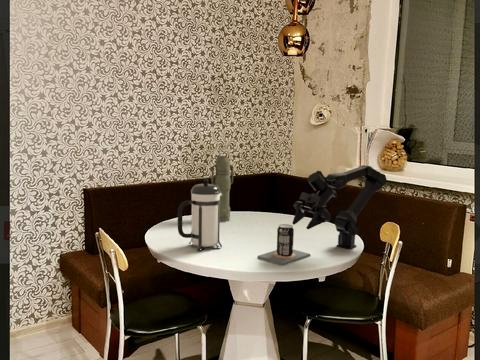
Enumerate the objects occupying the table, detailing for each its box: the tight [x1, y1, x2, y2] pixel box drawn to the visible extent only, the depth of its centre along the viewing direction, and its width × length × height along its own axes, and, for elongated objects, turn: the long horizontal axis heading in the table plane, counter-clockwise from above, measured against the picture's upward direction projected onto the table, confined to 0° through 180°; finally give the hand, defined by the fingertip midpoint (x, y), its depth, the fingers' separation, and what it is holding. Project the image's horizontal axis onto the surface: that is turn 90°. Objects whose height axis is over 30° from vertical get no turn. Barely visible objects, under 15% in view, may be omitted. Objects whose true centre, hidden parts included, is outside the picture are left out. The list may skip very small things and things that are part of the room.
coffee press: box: [177, 178, 223, 251], centre depth 197 cm, size 17×16×30 cm
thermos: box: [211, 155, 234, 222], centre depth 249 cm, size 9×12×35 cm
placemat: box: [257, 248, 311, 267], centre depth 187 cm, size 13×18×1 cm
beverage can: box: [276, 223, 295, 256], centre depth 187 cm, size 7×7×12 cm
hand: (300, 226), depth 190 cm, fingers open, 9 cm apart
